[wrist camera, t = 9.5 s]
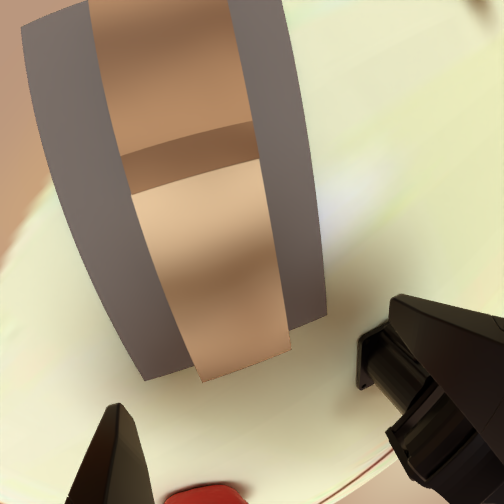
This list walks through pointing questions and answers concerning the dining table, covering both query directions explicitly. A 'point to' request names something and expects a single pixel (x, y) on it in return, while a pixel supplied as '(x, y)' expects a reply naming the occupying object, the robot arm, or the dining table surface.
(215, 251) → the birch plank
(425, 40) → the dining table surface
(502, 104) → the dining table surface
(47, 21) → the underlay mat
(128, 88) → the wooden block
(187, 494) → the pomegranate
